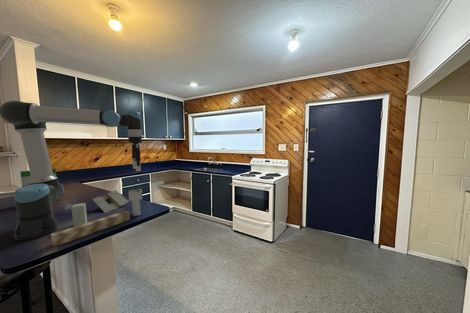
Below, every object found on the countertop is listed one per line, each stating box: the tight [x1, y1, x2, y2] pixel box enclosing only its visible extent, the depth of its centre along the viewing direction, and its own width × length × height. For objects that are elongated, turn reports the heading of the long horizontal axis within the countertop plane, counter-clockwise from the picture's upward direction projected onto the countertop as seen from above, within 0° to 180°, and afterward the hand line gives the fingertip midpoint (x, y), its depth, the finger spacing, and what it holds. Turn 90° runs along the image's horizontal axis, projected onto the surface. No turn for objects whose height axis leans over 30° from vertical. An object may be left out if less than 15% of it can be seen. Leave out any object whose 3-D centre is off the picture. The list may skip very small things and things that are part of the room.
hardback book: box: [20, 168, 60, 202], centre depth 141 cm, size 18×7×24 cm, turn 137°
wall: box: [92, 190, 130, 214], centre depth 131 cm, size 16×9×15 cm
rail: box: [50, 210, 130, 248], centre depth 97 cm, size 32×4×5 cm, turn 146°
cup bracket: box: [128, 188, 143, 217], centre depth 116 cm, size 7×7×14 cm
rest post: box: [71, 202, 88, 227], centre depth 103 cm, size 5×5×11 cm
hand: (136, 169), depth 124 cm, fingers open, 13 cm apart
